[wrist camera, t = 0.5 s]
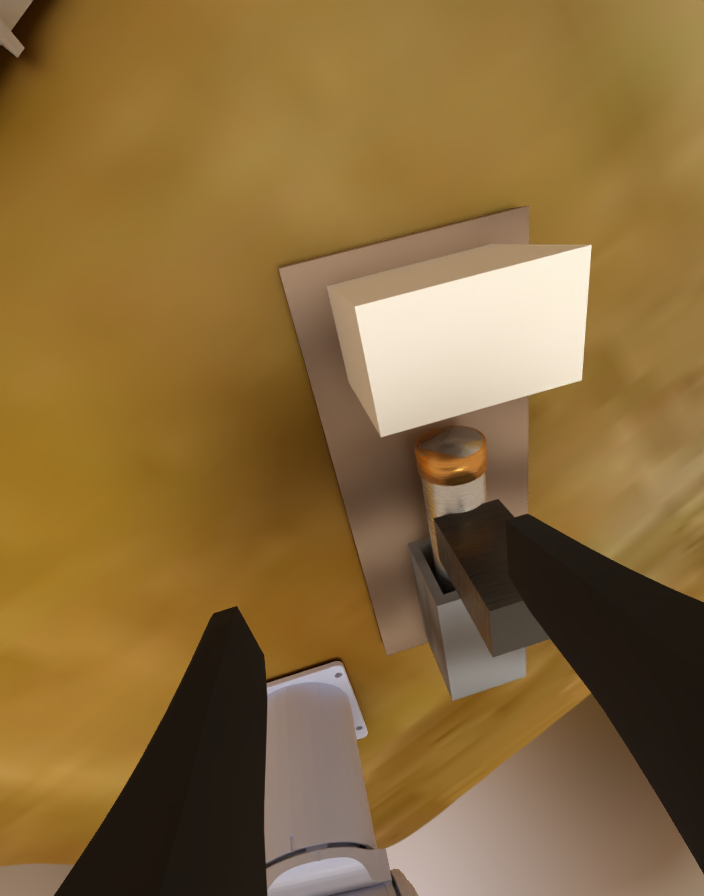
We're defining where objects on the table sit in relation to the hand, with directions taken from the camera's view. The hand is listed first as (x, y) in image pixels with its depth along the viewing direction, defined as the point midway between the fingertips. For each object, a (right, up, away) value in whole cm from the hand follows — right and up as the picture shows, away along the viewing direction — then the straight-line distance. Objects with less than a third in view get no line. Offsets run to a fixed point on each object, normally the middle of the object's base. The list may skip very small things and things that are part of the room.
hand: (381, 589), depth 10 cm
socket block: (+2, +10, +7) cm, 12 cm away
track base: (+4, +2, +11) cm, 12 cm away
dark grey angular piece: (+5, -1, +11) cm, 12 cm away
